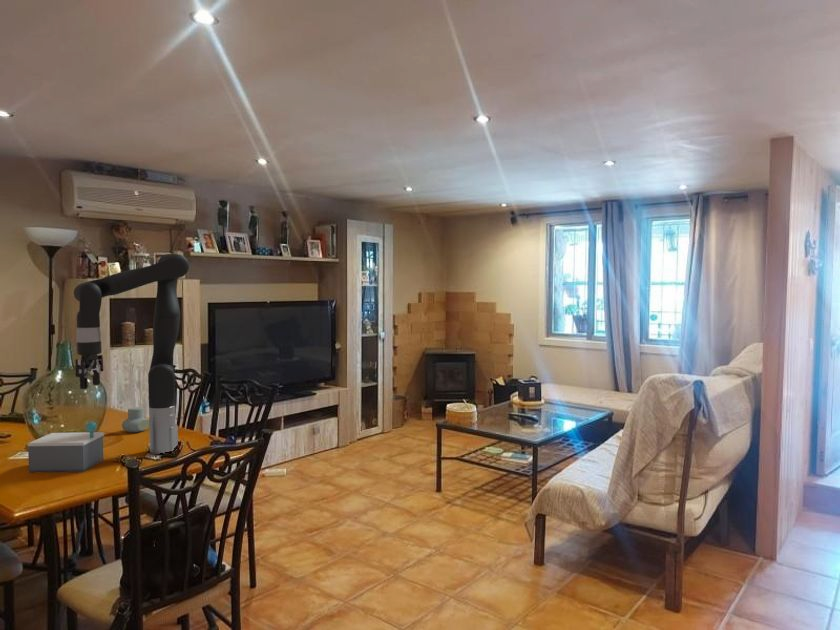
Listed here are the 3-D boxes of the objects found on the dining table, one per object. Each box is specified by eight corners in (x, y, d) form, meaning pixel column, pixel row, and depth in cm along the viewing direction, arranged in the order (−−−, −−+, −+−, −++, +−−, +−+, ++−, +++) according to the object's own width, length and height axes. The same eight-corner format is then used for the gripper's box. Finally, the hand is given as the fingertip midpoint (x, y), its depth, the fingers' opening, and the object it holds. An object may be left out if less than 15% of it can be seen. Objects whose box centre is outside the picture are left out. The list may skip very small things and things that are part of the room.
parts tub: (103, 459, 216) (102, 435, 216) (83, 471, 202) (82, 445, 202) (52, 460, 215) (51, 436, 215) (28, 472, 201) (28, 446, 201)
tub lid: (106, 434, 216) (106, 417, 216) (86, 445, 202) (86, 426, 201) (52, 435, 215) (51, 417, 215) (27, 446, 201) (27, 427, 201)
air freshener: (136, 427, 266) (136, 405, 266) (152, 428, 264) (152, 406, 264) (118, 433, 256) (118, 410, 255) (135, 434, 254) (134, 411, 253)
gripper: (89, 342, 200) (91, 390, 201) (109, 338, 214) (111, 383, 215) (66, 342, 200) (68, 390, 201) (88, 338, 214) (89, 383, 215)
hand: (90, 386), depth 208 cm, fingers open, 8 cm apart
